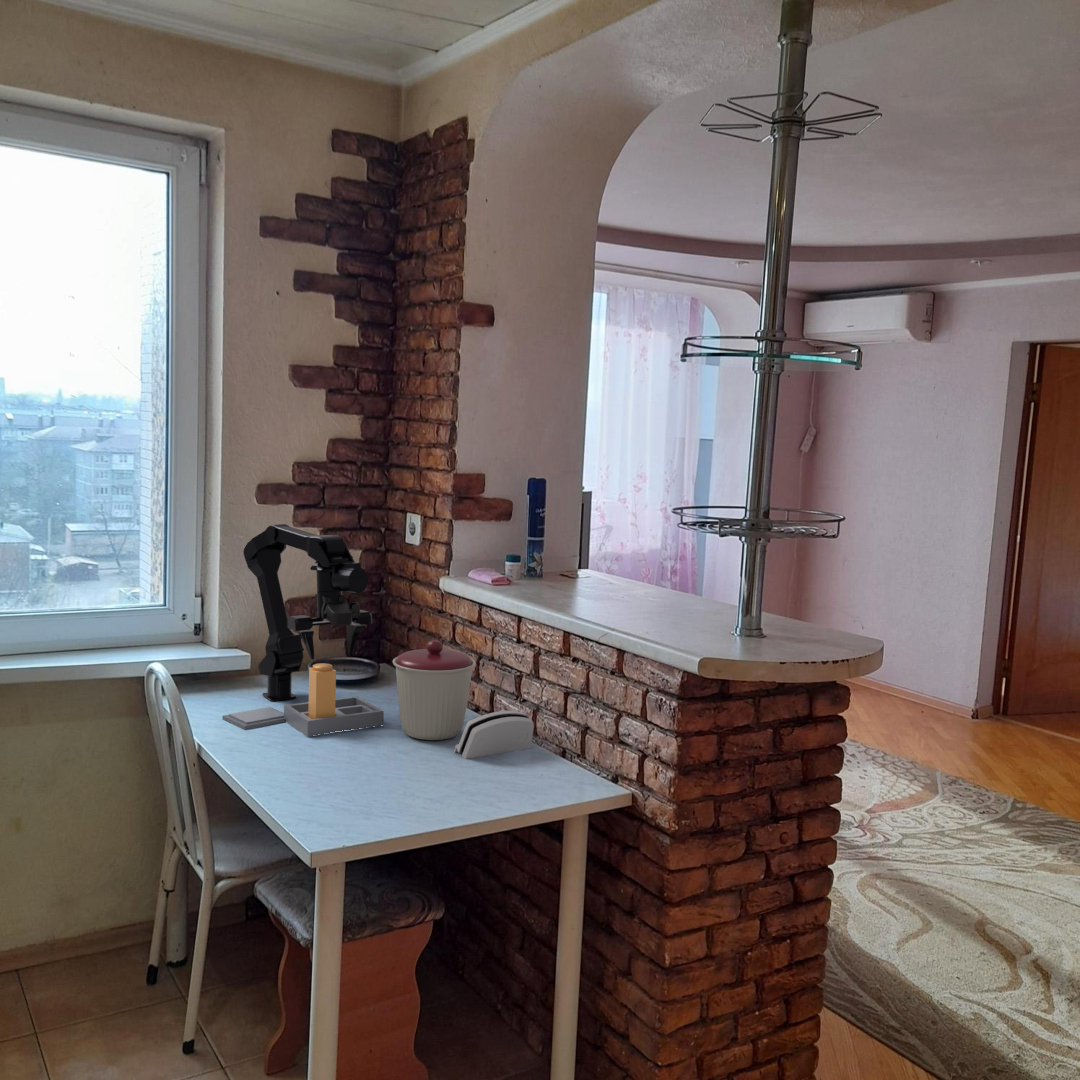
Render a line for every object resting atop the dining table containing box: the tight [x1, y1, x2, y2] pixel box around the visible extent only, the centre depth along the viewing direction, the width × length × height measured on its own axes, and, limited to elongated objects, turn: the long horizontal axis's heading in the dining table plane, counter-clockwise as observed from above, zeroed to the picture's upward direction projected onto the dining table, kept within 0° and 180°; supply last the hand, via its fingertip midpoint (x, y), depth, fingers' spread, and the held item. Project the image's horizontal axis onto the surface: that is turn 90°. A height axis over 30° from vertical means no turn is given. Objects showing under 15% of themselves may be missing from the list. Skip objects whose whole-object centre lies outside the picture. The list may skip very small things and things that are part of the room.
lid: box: [222, 706, 287, 730], centre depth 233 cm, size 10×12×1 cm
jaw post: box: [308, 663, 337, 719], centre depth 228 cm, size 4×4×13 cm
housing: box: [283, 695, 385, 737], centre depth 233 cm, size 14×18×4 cm
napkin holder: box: [453, 710, 535, 760], centre depth 217 cm, size 17×5×10 cm, turn 124°
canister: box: [392, 639, 476, 741], centre depth 227 cm, size 18×18×21 cm
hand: (331, 657), depth 239 cm, fingers open, 9 cm apart
